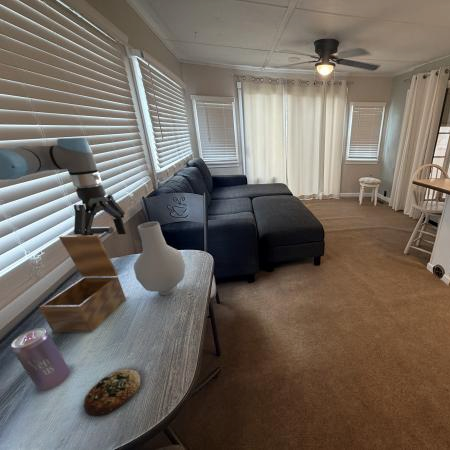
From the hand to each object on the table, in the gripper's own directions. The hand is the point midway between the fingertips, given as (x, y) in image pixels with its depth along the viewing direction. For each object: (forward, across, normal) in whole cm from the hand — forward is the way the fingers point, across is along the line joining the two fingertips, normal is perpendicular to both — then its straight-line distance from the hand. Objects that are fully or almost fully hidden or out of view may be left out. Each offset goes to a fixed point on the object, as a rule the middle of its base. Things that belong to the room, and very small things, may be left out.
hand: (109, 241), depth 90 cm
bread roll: (+21, -42, -28) cm, 55 cm away
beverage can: (+21, -39, -10) cm, 46 cm away
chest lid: (+1, -10, 0) cm, 10 cm away
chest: (+21, -16, 0) cm, 26 cm away
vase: (+21, -2, -19) cm, 28 cm away
